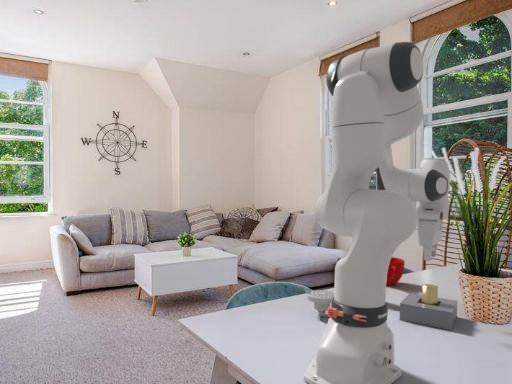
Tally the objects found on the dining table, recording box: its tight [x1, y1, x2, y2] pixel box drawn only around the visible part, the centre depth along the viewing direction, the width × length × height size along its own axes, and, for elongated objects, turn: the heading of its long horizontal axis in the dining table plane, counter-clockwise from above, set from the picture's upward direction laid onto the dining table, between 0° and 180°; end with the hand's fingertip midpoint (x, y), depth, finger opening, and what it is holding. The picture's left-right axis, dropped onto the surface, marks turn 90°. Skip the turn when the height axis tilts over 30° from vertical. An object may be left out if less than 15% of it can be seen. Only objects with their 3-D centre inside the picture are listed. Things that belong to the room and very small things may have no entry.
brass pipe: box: [421, 283, 439, 306], centre depth 118 cm, size 4×4×10 cm
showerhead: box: [305, 289, 334, 317], centre depth 119 cm, size 9×7×10 cm
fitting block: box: [399, 292, 458, 331], centre depth 118 cm, size 14×14×5 cm
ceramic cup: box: [386, 256, 405, 286], centre depth 159 cm, size 13×17×10 cm
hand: (430, 258), depth 118 cm, fingers open, 8 cm apart
